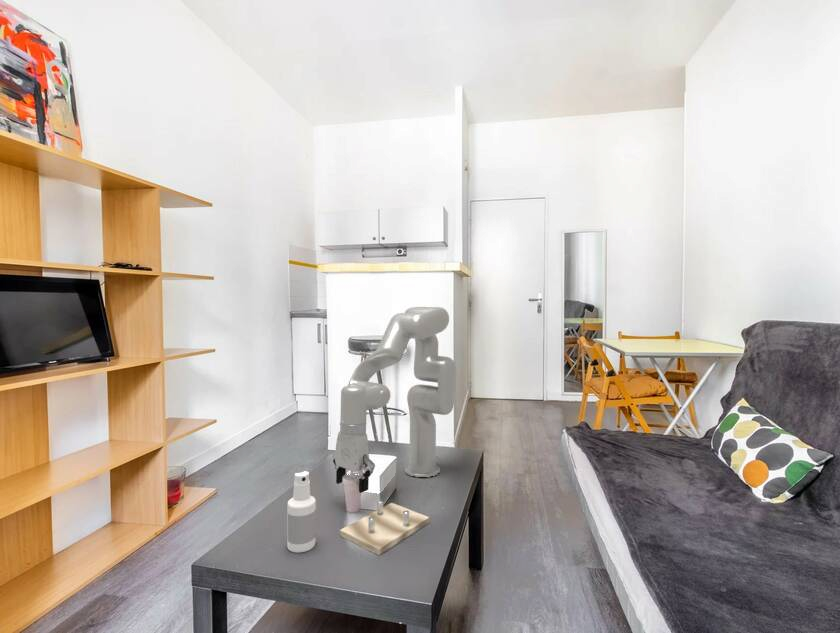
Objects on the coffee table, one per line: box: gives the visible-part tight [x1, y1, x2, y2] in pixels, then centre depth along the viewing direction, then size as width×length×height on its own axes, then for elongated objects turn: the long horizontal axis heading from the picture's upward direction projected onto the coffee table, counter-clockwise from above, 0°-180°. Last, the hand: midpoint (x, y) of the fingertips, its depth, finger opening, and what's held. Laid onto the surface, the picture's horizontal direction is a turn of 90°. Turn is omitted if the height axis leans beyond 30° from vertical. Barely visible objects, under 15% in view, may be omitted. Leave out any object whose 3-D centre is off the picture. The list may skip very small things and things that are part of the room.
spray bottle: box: [286, 470, 317, 554], centre depth 104 cm, size 7×7×18 cm
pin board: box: [339, 500, 430, 556], centre depth 112 cm, size 20×14×5 cm
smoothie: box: [342, 470, 362, 513], centre depth 123 cm, size 6×6×14 cm
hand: (351, 486), depth 123 cm, fingers open, 9 cm apart
